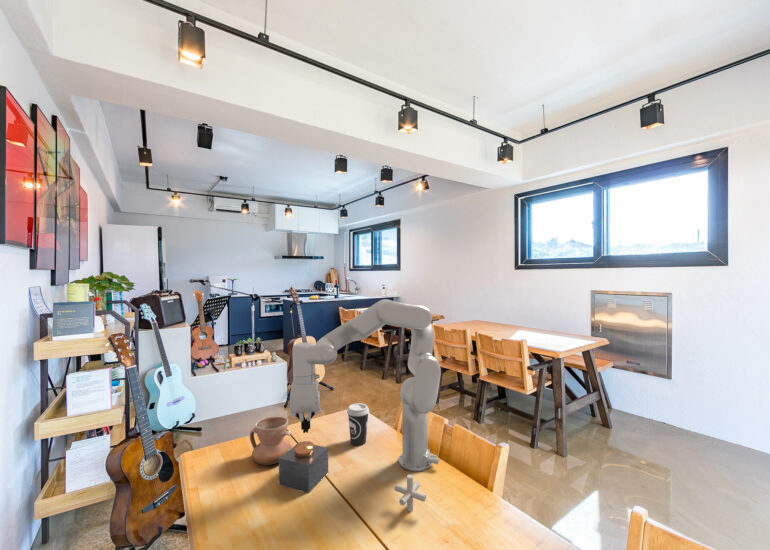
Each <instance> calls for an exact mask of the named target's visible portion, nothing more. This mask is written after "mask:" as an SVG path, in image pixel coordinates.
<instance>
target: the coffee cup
mask: <svg viewBox="0 0 770 550" xmlns="http://www.w3.org/2000/svg"><path fill="white" fill-rule="evenodd" d="M369 413H370V409H369V406H368V405H367V404H365V403H360V402H359V403H352V404H350V405H349V406H348V408H347V410H346V414H347V415H348V425H349V427H348V428H349V438H350V444H351V445H352V444H353V446H355V445H356V446H355V447H359V446H360V445H361V446H363V444H364V445H365V444H366V443H367V434H368V432H367V431H368V422H369V421H368V420H369Z"/></svg>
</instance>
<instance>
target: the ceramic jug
mask: <svg viewBox="0 0 770 550" xmlns="http://www.w3.org/2000/svg"><path fill="white" fill-rule="evenodd" d="M288 426H289V419H288V418H287V417H284V416H269V417H263V418H261V419H258V420H257V421H256V423H255V424H254V427H253V428H252V429H251V430H250V432H249V441H250V443H251V445H252V448H253V450H252V451H251V452H252V453H251V456H252V460H253V461H254V462H255V463H257V464H259V465H264V466H265V465H266V466H269V465H272V466H273V465H275V464H276V465H277V464H279V458H280V457H281V456H282V455H284V454H285V453H286V452H288V451H289V450H290V449H292V445H291V443H290V442H289V441H288V440H287V439H284V438H285V437H286V436H288V437H290V436H291V434H292V433H293V432H292V431H291V430H288ZM255 434H256V436H257V438H258V440H259V442H260V443H258V444H257V443H256V440H255Z"/></svg>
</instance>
